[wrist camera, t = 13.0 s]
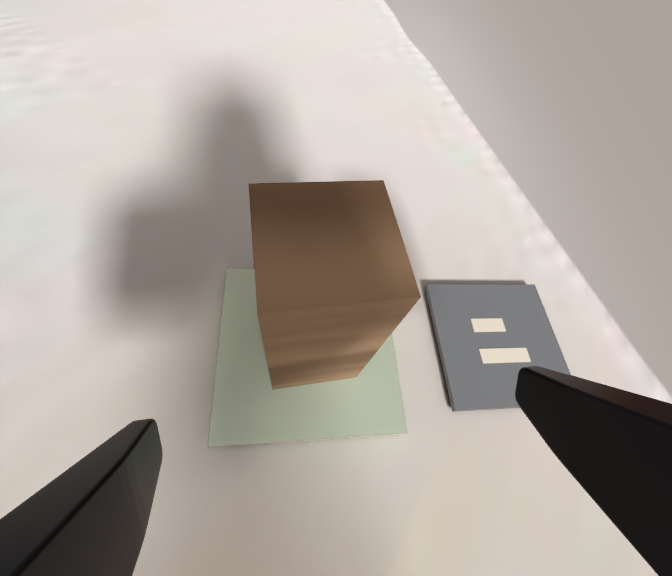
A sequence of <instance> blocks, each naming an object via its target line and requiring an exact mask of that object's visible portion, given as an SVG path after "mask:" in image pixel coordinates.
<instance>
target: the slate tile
mask: <svg viewBox="0 0 672 576" xmlns="http://www.w3.org/2000/svg"><path fill="white" fill-rule="evenodd" d="M425 290H426V294H427V299H428V303H429V308H430V312H431V317H432V321H433V326H434V330H435V335H436V340H437V344H438V349H439V353H440V358H441V362H442V367H443V371H444V376H445V380H446V385H447V389H448V394H449V398H450V403H451V407H452V411H469V410H487V409H504V408H520V406H519V405H518V403H517V401H516V398H515V390H516V384H517V377H518V372H519V370H520V369H521V368H522V367H528V366H540V367H543V368H547V369H550V370H554V371H557V372H561V373H565V374H568V375H571V374H570V372H569V369H568V367H567V364H566V362H565V359H564V357H563V354H562V352H561V349H560V347H559V344H558V342H557V339H556V337H555V334H554V332H553V329H552V327H551V324H550V322H549V319H548V317H547V314H546V312H545V309H544V307H543V304H542V302H541V299H540V297H539V294H538V292H537V289H536V287H535V285H514V284H427V285H426V286H425Z"/></svg>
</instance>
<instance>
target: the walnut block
mask: <svg viewBox="0 0 672 576" xmlns="http://www.w3.org/2000/svg"><path fill="white" fill-rule="evenodd" d="M249 195H250V210H251V225H252V241H253V256H254V271H255V287H256V302H257V315H258V320H259V325H260V330H261V335H262V340H263V345H264V350H265V355H266V360H267V365H268V370H269V375H270V380H271V385H272V390H273V389H280V388H287V387H294V386H301V385H307V384H314V383H321V382H328V381H335V380H342V379H348V378H355V377H357V376H358V375H359V373H360V372H361V371H362V370H363V368H364V367H365V366H366V365H367V363H368V362H369V361H370V360H371V358H372V357H373V356H374V355H375V353H376V352H377V351H378V350H379V348H380V347H381V346H382V345H383V343H384V342H385V341H386V340H387V338H388V337H389V336H390V335H391V333H392V332H393V331H394V330H395V328H396V327H397V326H398V325H399V323H400V322H401V321H402V320H403V318H404V317H405V316H406V315H407V313H408V312H409V311H410V310H411V308H412V307H413V306H414V304H415V303H416V302H417V301H418V299H419V298H420V297H421V296H420V293H419V290H418V287H417V284H416V281H415V277H414V274H413V271H412V268H411V265H410V262H409V259H408V256H407V252H406V249H405V246H404V243H403V240H402V237H401V234H400V231H399V228H398V224H397V221H396V218H395V215H394V212H393V209H392V206H391V203H390V199H389V196H388V193H387V190H386V187H385V184H384V181H383V180H380V181H340V182H300V183H260V184H249Z"/></svg>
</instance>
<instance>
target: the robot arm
mask: <svg viewBox="0 0 672 576" xmlns="http://www.w3.org/2000/svg"><path fill="white" fill-rule="evenodd" d="M515 398H516V401H517V403H518V405H519V406H520V408H521V409H522V410H523V412H524V413H525V415H526V416H527V417H528V419H529V420H530V421H531V423H532V424H533V426H534V427H535V428H536V430H537V431H538V432H539V434H540V435H541V437H542V438H543V439H544V441H545V442H546V443H547V445H548V446H549V447H550V449H551V450H552V451H553V453H554V454H555V455H556V457H557V458H558V459H559V460H560V461H561V463H562V464H563V465H564V466H565V467H566V468H567V470H568V471H569V472H570V473H571V474H572V475H573V477H574V478H575V479H576V480H577V481H578V482H579V484H580V485H581V486H582V487H583V488H584V489H585V491H586V492H587V493H588V494H589V495H590V496H591V498H592V499H593V500H594V501H595V502H596V503H597V505H598V506H599V507H600V508H601V509H602V510H603V512H604V513H605V514H606V515H607V516H608V517H609V519H610V520H611V521H612V522H613V523H614V524H615V526H616V527H617V528H618V529H619V530H620V531H621V532H622V534H623V535H624V536H625V537H626V538H627V539H628V541H629V542H630V543H631V544H632V545H633V546H634V548H635V549H636V550H637V551H638V552H639V553H640V555H641V556H642V557H643V558H644V559H645V560H646V562H647V563H648V564H649V565H650V566H651V567H652V569H653V570H654V571H655V572H656V573H657V574H658V576H672V404H670V403H667V402H663V401H659V400H656V399H652V398H649V397H645V396H642V395H638V394H635V393H631V392H628V391H624V390H621V389H617V388H614V387H610V386H607V385H603V384H600V383H596V382H593V381H589V380H586V379H582V378H579V377H575V376H572V375H568V374H565V373H561V372H557V371H554V370H550V369H547V368H543V367H540V366H528V367H522V368H521V369H520V370H519V372H518V377H517V384H516V390H515ZM161 463H162V446H161V441H160V437H159V432H158V427H157V423H156V421H155V420H154V419H145V420H137V421H133V422H131V423H130V424H128V425H127V426H126V427H124V428H123V429H122V430H120V431H119V432H118V433H116V434H115V435H114V436H112V437H111V438H109V439H108V440H107V441H105V442H104V443H103V444H101V445H100V446H99V447H97V448H96V449H95V450H93V451H92V452H91V453H89V454H88V455H86V456H85V457H84V458H82V459H81V460H80V461H78V462H77V463H76V464H74V465H73V466H72V467H70V468H69V469H68V470H66V471H65V472H64V473H62V474H61V475H59V476H58V477H57V478H55V479H54V480H53V481H51V482H50V483H49V484H47V485H46V486H45V487H43V488H42V489H41V490H39V491H38V492H36V493H35V494H34V495H32V496H31V497H30V498H28V499H27V500H26V501H24V502H23V503H22V504H20V505H19V506H18V507H16V508H15V509H13V510H12V511H11V512H9V513H8V514H7V515H5V516H4V517H3V518H1V519H0V576H132V574H133V571H134V568H135V565H136V562H137V559H138V556H139V553H140V550H141V547H142V543H143V540H144V537H145V533H146V529H147V525H148V520H149V516H150V511H151V507H152V503H153V498H154V494H155V489H156V485H157V480H158V476H159V471H160V467H161Z"/></svg>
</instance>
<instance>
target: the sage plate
mask: <svg viewBox="0 0 672 576" xmlns="http://www.w3.org/2000/svg"><path fill="white" fill-rule="evenodd" d="M398 434H407V427H406V421H405V414H404V408H403V401H402V395H401V389H400V382H399V376H398V369H397V363H396V356H395V350H394V343H393V337H392V333H391V335H390V336H389V337H388V338H387V340H386V341H385V342H384V343H383V345H382V346H381V347H380V348H379V350H378V351H377V352H376V353H375V355H374V356H373V357H372V358H371V360H370V361H369V362H368V363H367V365H366V366H365V367H364V368H363V370H362V371H361V372H360V373H359V375H358V376H357V377H355V378H348V379H342V380H335V381H328V382H321V383H314V384H307V385H301V386H294V387H287V388H280V389H273V390H272V385H271V380H270V375H269V370H268V365H267V360H266V355H265V350H264V345H263V340H262V335H261V330H260V325H259V320H258V315H257V302H256V287H255V271H254V269H247V268H227V269H226V278H225V288H224V297H223V307H222V316H221V326H220V335H219V344H218V354H217V363H216V373H215V382H214V392H213V401H212V411H211V420H210V429H209V439H208V447H216V446H231V445H246V444H261V443H276V442H292V441H307V440H322V439H337V438H352V437H368V436H383V435H398Z"/></svg>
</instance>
